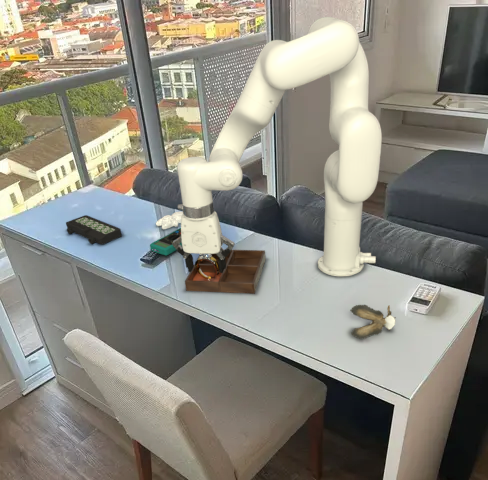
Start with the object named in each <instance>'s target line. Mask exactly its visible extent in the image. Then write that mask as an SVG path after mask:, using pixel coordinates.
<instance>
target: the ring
mask: <svg viewBox="0 0 488 480" xmlns="http://www.w3.org/2000/svg"><path fill="white" fill-rule="evenodd" d="M199 255H200V257H199V256H198V257H199V258H198V257H197V258H198V259H196V260H195V262H194V264H195V267H196V270H197V272H198V273H199V274H200V275H201V276H202V277H203V278H204V279H207V281H209V280H214V279H215V278H216V277H217V276H218V275H219V264H218V262H217V261H216V259H215V258H213V257H212V255H211V254H203V255H202V254H199ZM202 260H207V261H209V262H211V263H212V264H213V265H214V267H215V271H216V273H215V276H214V277H210V276H206V275H205V274H204V273H203V272H202V271H201V269H200V267H199V262H200V261H202Z"/></svg>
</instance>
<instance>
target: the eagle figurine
mask: <svg viewBox="0 0 488 480" xmlns="http://www.w3.org/2000/svg"><path fill="white" fill-rule="evenodd" d="M390 309H391V306H390V305H387V315H386V316H385V317H384V313H383V312H382V311H381V310H376V309H374V308H372V307H370V306H368V305H367V304H355V305H353V306H352V307H351V309H350V313H352V315H354V316H357V317H358V318H361V319H363V320H368V321H370V322H369V324H366V325H363V326H360V327H356V328H353V330H352V332H351V336H353V337H354V338H356V339H360V340H361V339H367V338H369V337H371V336H374V335H375V336H376V335H379V334H381V333H382V332H383V328H386V330H388V331H389V332H390V331H391V330H392V329H393V328H394V327H395V325H396V319H397V317H396V316H393V315H392V311H391V310H390Z"/></svg>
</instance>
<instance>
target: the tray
mask: <svg viewBox="0 0 488 480" xmlns="http://www.w3.org/2000/svg"><path fill="white" fill-rule="evenodd" d="M223 249H224V250H225V249H226V248H223ZM202 255H203V254H202ZM211 255H212V257H213V258H215V259H216V261H217V262H218V260H219V257H218V256H217V254H211ZM199 257H200V254H198V257H197V259H198V258H199ZM197 259H196V260H197ZM225 259H226V269H224V271H223V273H220V272H219V275H218V276H217V277H216V278H215V279H214V280H209V281H207V279H204V278H203V277H202V276H201V275H200V274H199V273H198V272H197V270H196V267H195V263H194V268H193V269H192V271H191V272H188V275H187V277H186V278H185V280H184V285H185V291H187V292H205V293H206V292H207V293H226V294H227V293H229V294H230V293H231V294H249V295H251V294H253V295H254V294H256V292H257V288H258V285H259V282H260V279H261V276H262V272H263V269H264V266H265V263H266V260H267V258H266V250H264V249H262V250H259V249H232V250H231V252H230V253H229V254H228V255H227V256H226V257H225ZM218 264H219V263H218ZM199 267H200V269H201V271H202V272H203V273H204V274H205V275H206V276H210V277H214V276H215V273H216V271H215V267H214V265H213V264H212V263H211V262H209V261H207V260H202V261H200V262H199Z"/></svg>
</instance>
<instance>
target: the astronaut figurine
mask: <svg viewBox="0 0 488 480" xmlns="http://www.w3.org/2000/svg"><path fill="white" fill-rule="evenodd" d="M182 215H183V211H182V210H178V211H175V212H173V213H172V214H171V215H170V214H167V215H163V216H162V217H161V218H159V219H158V220H157V221H156V222H155V225H156V227H161V230H167V229H170V228H172V227H175V228H177V227H179V224H181V216H182Z"/></svg>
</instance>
